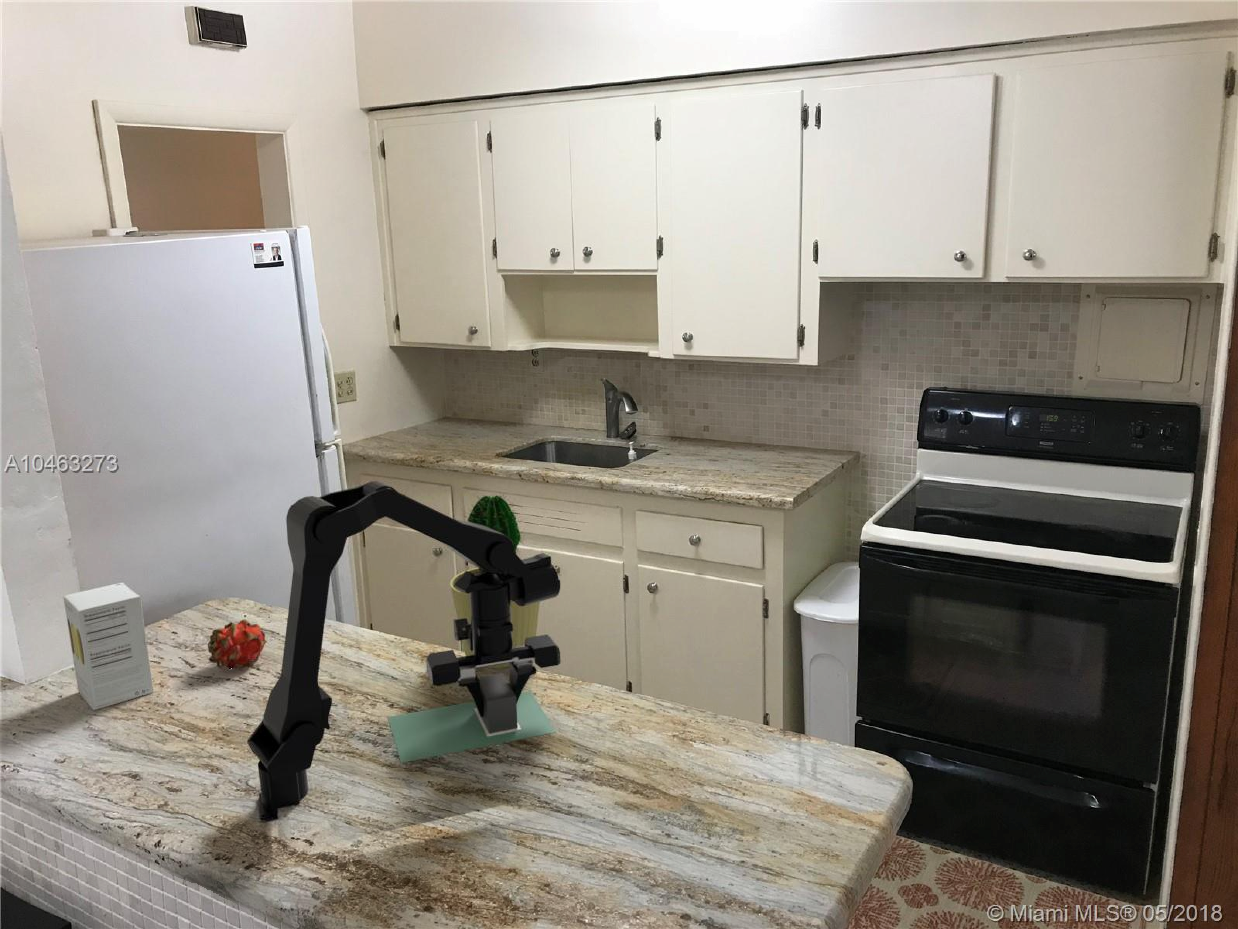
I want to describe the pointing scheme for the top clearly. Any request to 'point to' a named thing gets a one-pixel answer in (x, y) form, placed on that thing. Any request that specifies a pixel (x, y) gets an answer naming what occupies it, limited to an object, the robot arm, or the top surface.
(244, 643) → the dragon fruit
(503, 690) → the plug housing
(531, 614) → the potted cactus
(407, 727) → the board
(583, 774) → the top surface
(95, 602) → the supplement box
